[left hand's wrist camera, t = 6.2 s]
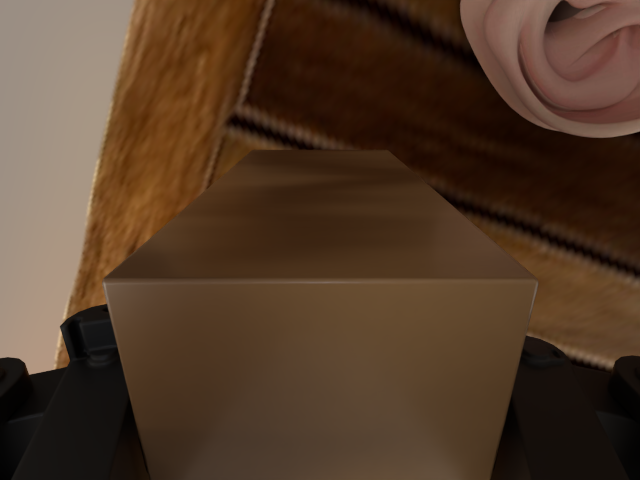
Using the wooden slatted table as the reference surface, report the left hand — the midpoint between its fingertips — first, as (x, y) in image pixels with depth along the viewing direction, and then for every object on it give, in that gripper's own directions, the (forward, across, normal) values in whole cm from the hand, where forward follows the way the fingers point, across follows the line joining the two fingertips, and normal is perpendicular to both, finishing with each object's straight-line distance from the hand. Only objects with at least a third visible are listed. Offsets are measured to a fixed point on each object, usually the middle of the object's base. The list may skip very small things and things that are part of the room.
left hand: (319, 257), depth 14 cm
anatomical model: (+11, -13, -10) cm, 20 cm away
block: (+2, 0, 0) cm, 2 cm away
